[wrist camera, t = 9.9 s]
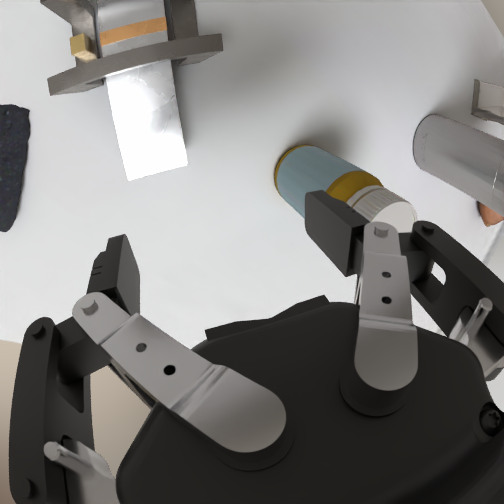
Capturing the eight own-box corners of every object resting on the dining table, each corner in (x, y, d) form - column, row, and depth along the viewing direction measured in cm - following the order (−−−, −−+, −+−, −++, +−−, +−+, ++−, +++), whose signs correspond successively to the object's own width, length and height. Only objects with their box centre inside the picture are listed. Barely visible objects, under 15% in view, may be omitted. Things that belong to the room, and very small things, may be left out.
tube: (103, -21, 14) (95, -40, 10) (156, -33, 15) (159, -54, 11) (131, 164, 25) (128, 180, 21) (182, 151, 26) (188, 164, 22)
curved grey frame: (190, -12, 17) (211, -52, 10) (199, 62, 22) (223, 50, 14) (73, 16, 15) (40, -11, 7) (83, 91, 20) (50, 95, 12)
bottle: (277, 209, 33) (352, 290, 21) (267, 152, 29) (353, 211, 17) (329, 191, 34) (415, 258, 22) (323, 137, 30) (425, 185, 18)
